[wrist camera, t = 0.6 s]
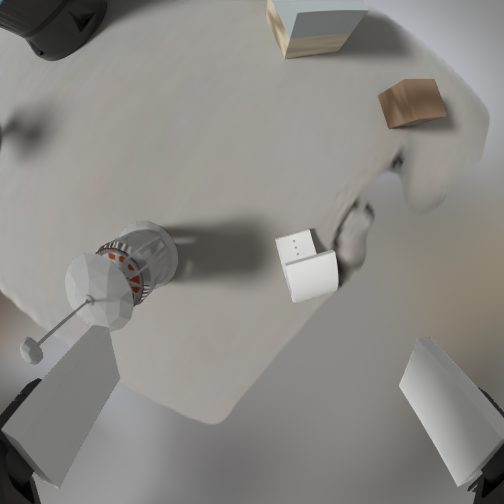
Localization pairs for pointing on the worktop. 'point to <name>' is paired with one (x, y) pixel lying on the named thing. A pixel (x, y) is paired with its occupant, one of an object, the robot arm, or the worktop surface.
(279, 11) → the grey block
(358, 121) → the worktop surface
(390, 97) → the walnut block
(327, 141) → the worktop surface
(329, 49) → the beech block
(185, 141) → the worktop surface
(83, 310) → the french press
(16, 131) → the worktop surface
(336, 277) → the white curved piece
